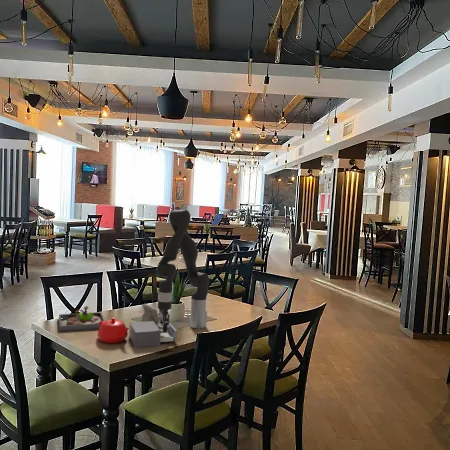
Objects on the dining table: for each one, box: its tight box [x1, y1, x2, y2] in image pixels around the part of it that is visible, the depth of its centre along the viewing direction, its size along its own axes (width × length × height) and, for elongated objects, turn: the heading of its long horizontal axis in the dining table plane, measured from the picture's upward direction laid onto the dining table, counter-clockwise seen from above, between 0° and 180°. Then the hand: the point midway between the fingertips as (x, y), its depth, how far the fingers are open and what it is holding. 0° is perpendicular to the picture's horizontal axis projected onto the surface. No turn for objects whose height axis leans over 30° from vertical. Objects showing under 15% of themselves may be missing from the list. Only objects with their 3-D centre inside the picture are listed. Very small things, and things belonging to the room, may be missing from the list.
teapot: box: [97, 316, 130, 344], centre depth 223 cm, size 25×16×12 cm, turn 51°
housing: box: [128, 321, 161, 349], centre depth 225 cm, size 13×18×8 cm
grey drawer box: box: [160, 322, 178, 343], centre depth 228 cm, size 13×15×6 cm
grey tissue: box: [141, 303, 161, 326], centre depth 259 cm, size 16×9×11 cm, turn 24°
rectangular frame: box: [58, 311, 106, 332], centre depth 249 cm, size 25×25×3 cm
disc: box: [157, 323, 171, 330], centre depth 228 cm, size 6×6×2 cm
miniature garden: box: [66, 305, 101, 325], centre depth 251 cm, size 20×20×11 cm
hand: (163, 330), depth 228 cm, fingers closed on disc, 6 cm apart
